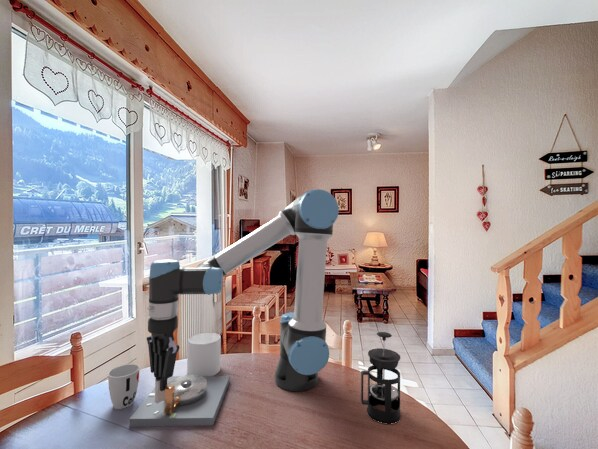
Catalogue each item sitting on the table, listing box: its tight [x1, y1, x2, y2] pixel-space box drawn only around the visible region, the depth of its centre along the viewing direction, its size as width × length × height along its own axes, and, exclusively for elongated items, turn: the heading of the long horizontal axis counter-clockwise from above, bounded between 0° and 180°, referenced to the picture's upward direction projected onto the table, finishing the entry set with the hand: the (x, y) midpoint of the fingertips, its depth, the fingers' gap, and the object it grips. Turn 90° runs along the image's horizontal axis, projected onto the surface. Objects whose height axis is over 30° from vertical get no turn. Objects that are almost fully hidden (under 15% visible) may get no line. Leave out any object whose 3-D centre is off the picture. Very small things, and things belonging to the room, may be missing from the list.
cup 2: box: [186, 332, 222, 376], centre depth 107 cm, size 12×12×12 cm
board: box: [128, 375, 231, 427], centre depth 88 cm, size 22×22×2 cm
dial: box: [164, 374, 207, 414], centre depth 86 cm, size 16×12×6 cm
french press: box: [360, 331, 402, 425], centre depth 84 cm, size 12×9×23 cm
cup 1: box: [107, 363, 140, 410], centre depth 87 cm, size 8×8×10 cm
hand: (160, 400), depth 81 cm, fingers closed
